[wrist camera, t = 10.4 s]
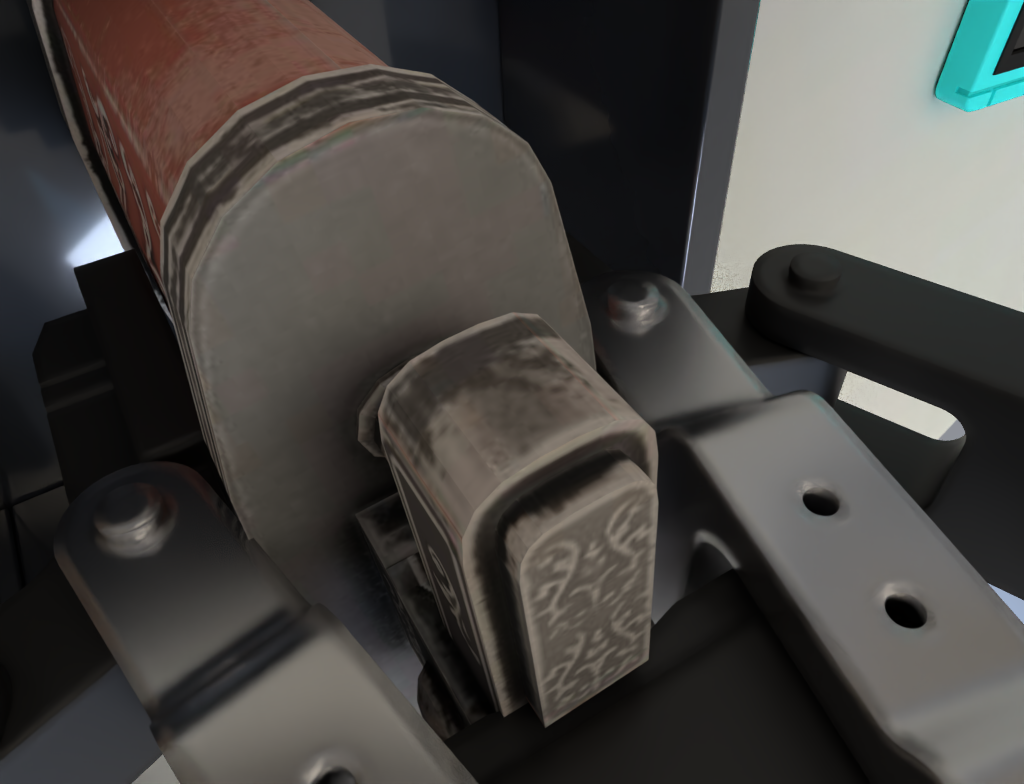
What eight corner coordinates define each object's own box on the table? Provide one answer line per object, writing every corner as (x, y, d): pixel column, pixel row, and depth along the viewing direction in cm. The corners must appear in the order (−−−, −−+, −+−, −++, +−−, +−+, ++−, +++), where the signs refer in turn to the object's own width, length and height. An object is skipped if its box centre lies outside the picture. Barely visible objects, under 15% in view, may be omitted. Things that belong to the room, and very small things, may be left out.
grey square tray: (-18, 514, 16) (24, 806, 12) (-748, -358, 7) (-1512, -335, 3) (520, 297, 20) (682, 461, 16) (493, -419, 11) (838, -440, 7)
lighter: (380, 327, 16) (736, 798, 9) (212, 404, 15) (484, 987, 8) (236, -167, 10) (939, 219, 3) (-63, -95, 9) (166, 629, 2)
